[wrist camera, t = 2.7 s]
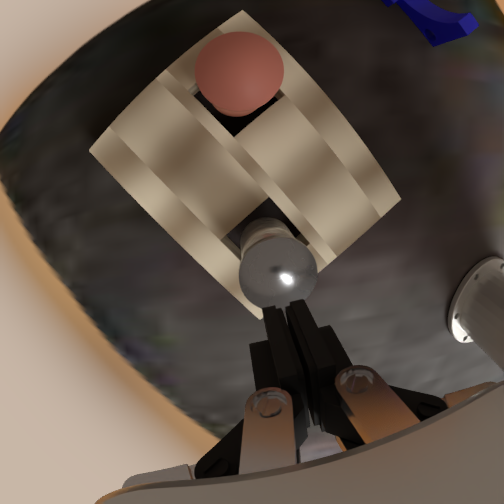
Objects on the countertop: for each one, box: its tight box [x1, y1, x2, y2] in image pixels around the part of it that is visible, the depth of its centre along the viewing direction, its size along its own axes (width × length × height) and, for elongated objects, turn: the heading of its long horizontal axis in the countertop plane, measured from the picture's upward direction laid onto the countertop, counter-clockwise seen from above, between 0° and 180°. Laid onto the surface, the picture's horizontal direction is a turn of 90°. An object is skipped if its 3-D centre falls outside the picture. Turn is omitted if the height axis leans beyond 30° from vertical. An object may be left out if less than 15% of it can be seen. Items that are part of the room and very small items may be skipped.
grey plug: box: [238, 217, 318, 310], centre depth 20 cm, size 5×5×6 cm
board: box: [89, 10, 401, 320], centre depth 23 cm, size 20×16×3 cm
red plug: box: [195, 31, 284, 117], centre depth 16 cm, size 5×5×6 cm
